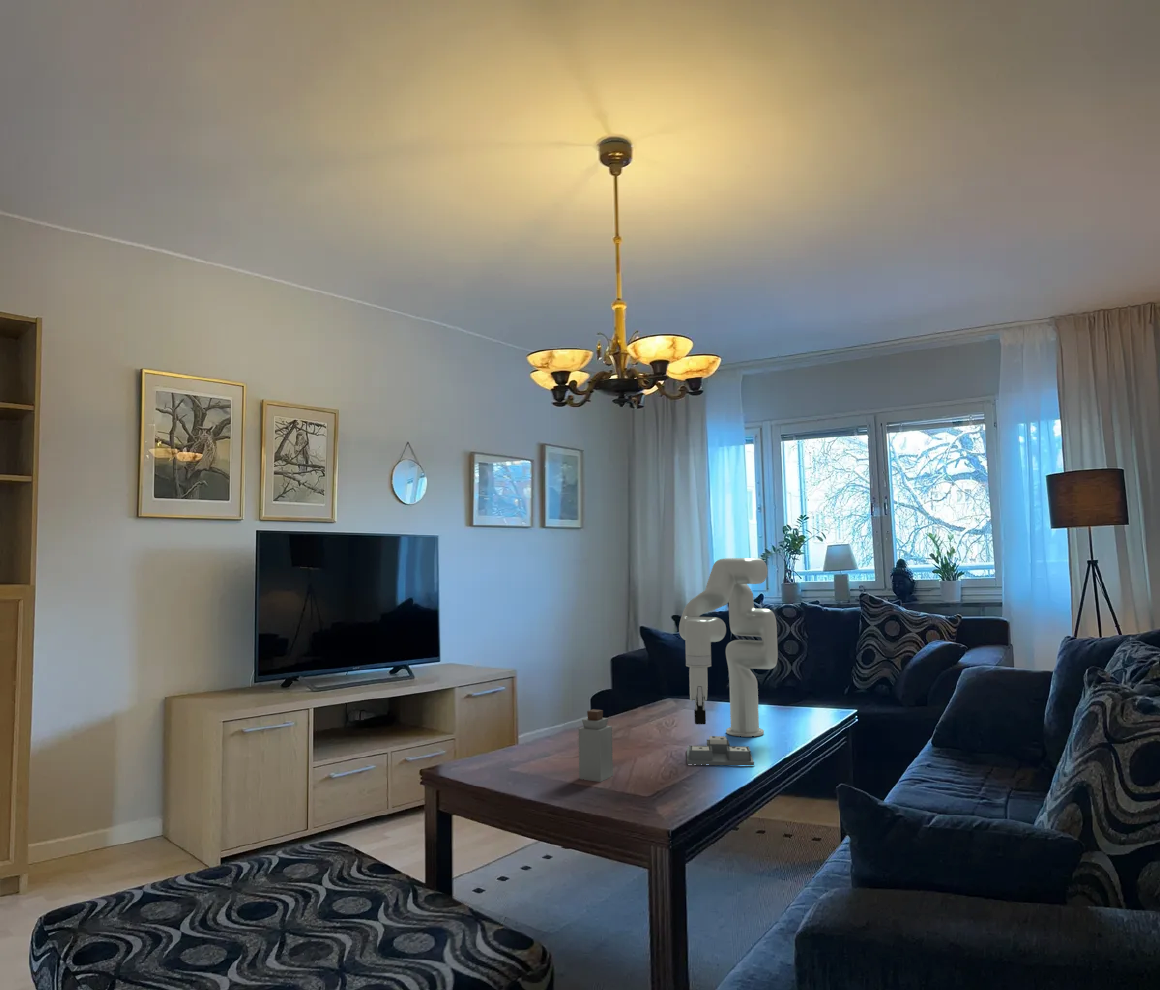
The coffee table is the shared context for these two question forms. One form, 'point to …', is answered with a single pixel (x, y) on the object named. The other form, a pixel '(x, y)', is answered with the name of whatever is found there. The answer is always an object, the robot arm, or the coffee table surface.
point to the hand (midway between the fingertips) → (700, 723)
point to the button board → (719, 755)
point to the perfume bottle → (595, 748)
